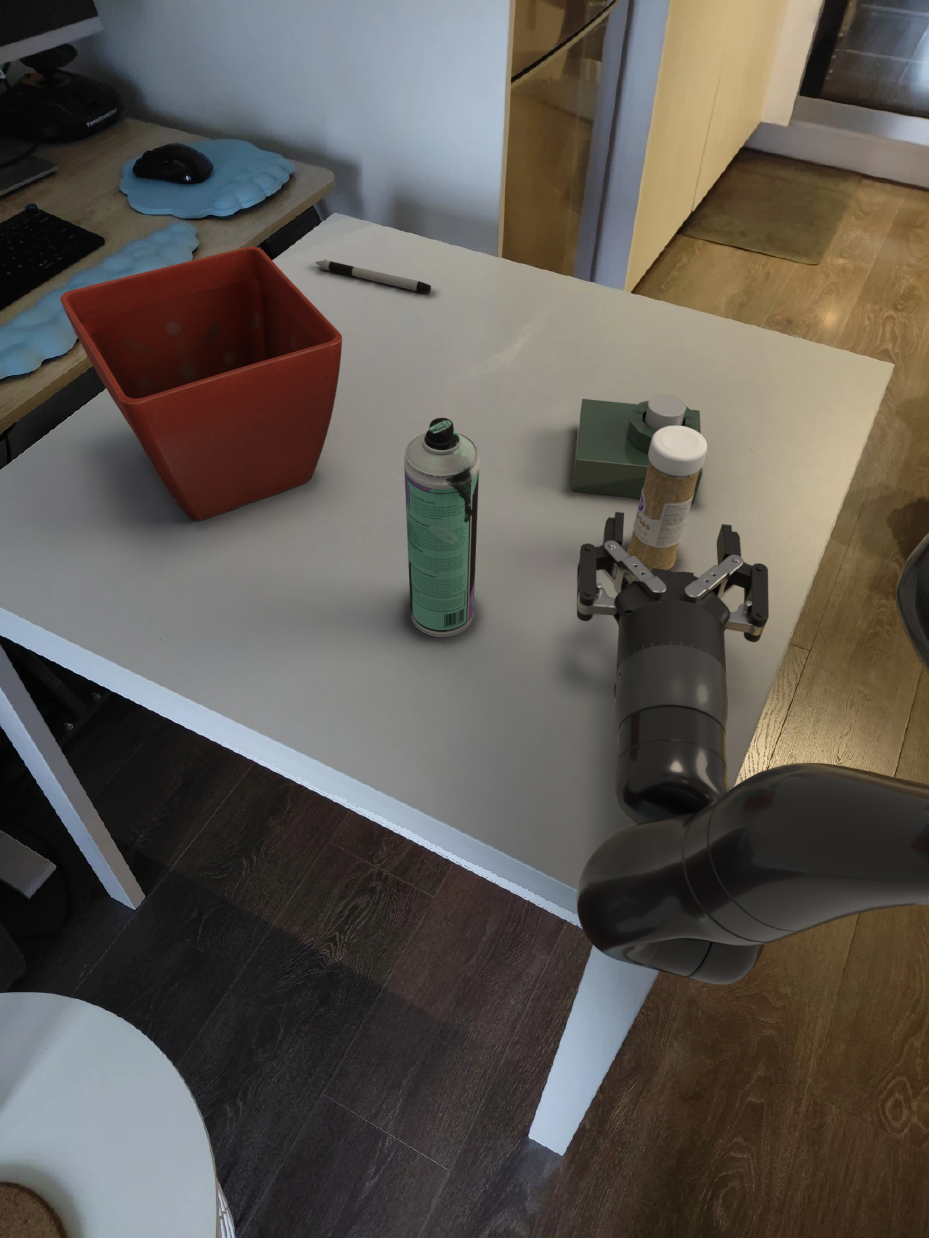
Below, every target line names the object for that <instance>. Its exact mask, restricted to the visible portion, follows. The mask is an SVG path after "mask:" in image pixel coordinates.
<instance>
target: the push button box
mask: <svg viewBox="0 0 929 1238" xmlns="http://www.w3.org/2000/svg"><path fill="white" fill-rule="evenodd" d="M648 402H649V400H645V401H641V402H638V403H629V402H619V401H610V400H601V399H588V398H582V399H581V402H580V411H579V417H578V424H577V425H578V426H577V434H576V444H575V453H574V462H573V472H572V480H571V491H572V492H579V493H589V494H596V495H597V494H598V495H608V496H615V497H623V498H635V499H640V497H641V493H642V489H643V487H644V482H645V478H646V473H647V469H648V465H649V457H648V453H649V448H650V444H651V440H652V437H653V435H654V434H655V432H657V431H656V430H653V429H651V428H649V427H648V426H647V425H646V423H645V416H646V411H647V406H648ZM682 426H684V427H688V428H691V429H693V430H695V431H697V432H699V433H700V434H701V435H702V430H701V411H700V410H699V409H691V408H690V407H688V406H686V411H685V415H684V419H683V423H682ZM703 473H704V472H703V467H702V468H701V469H700V471H699V474H698V478H697V481H696V485H695V489H694V495H693V499H692V502H691V505H694V504H695V501H696V499H697V498H696V497H697V494H698V490H699V487H700V483H701V480H702V476H703Z"/></svg>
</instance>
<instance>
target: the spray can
mask: <svg viewBox="0 0 929 1238" xmlns="http://www.w3.org/2000/svg"><path fill="white" fill-rule="evenodd" d="M428 426H429V427H428V430H427V431H424V432H422V433H419V434H417V435H416V436H414V437H413V438H411V439H410V441H409V442H408V443H407V445H406V447H405V451H404V460H403V469H404V492H405V493H404V494H405V512H406V513H405V517H406V534H407V535H406V539H407V560H408V561H407V562H408V585H409V586H408V587H409V606H410V607H409V609H410V616H411V617H410V618H411V621H412V623H413V624H414V626H415V627H416V628H417V630H419V631H420V632H422V633H424V634H426V635H428V636H431V637H435V638H450V637H454V636H457V635H459V634H462V633H463V632H464V631H465V630H467V629H468V627H470V626H471V623H472V621H473V619H474V612H475V593H476V591H475V587H476V566H477V565H476V564H477V563H476V561H477V535H478V531H477V530H478V510H479V509H478V506H479V478H480V457H479V449H478V446H477V444H476V443H475V441H474V440H473V439H472V438H471V437H469V436H468V435H466V434H464V433H462V432H459V431H457V430H456V429H455V427H454V423H453V421H452V420H451V419H450V418H447V417H437V418H434V419H433V420H432V421H431V422H430V423H429V425H428Z"/></svg>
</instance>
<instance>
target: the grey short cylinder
mask: <svg viewBox="0 0 929 1238" xmlns="http://www.w3.org/2000/svg"><path fill="white" fill-rule="evenodd" d="M648 401H649V402H648V406H647V411H646V416H645V423H646V425H647V426H648V427H649V428H651V429H653V430H656V431H658V430H659V429H661V428H664V427H667V426H682V423H683V419H684V415H685V411H686V407H687V406H686V403H685V401H683V400H682V399H681V398H679V397H678V396H676V395H673V394H665V393H661V394H657V395H656V394H655V395H654V396H652V397H650V398H649V400H648Z"/></svg>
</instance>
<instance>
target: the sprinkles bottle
mask: <svg viewBox="0 0 929 1238" xmlns="http://www.w3.org/2000/svg"><path fill="white" fill-rule="evenodd" d="M707 451H708V442H707V440H706V438H705V437H704V436H703V435H702V433H701V434H700V433H699V432H697V431H695V430H693V429H691V428H688V427H684V426H667V427H664V428H661V429H659V430H658V431H657V432H655V434H654V435H653V437H652V440H651V444H650V448H649V453H648V457H649V465H648V469H647V473H646V478H645V482H644V487H643V489H642V493H641V497H640V498H639V503H638V506H637V510H636V515H635V519H634V522H633V530H632V534H631V538H630V543H629V544H628V546H627V550H626V552H627V553H628V554H629V555H630V556H633V555H634V556H636V557H637V558H638V559H639V560H640V561H641V562H642V563H643V565H644V566H645V567H646V568H647V569H648V570H649V571H652V568H657V569H664V570H667V571H670V570H671V568H673V567H674V565H675V564H676V562H677V552H678V548H679V546H680V545H679V544H680V542H681V539H682V538H683V534H684V531H685V527H686V523H687V519H688V517H689V513H690V509H691V505H692V504H691V502H692V499H693V495H694V489H695V485H696V481H697V478H698V474H699V471H700V469H701V468H702V469H703V467H704V465H705V464H704V463H705V461H706V456H707Z"/></svg>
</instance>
